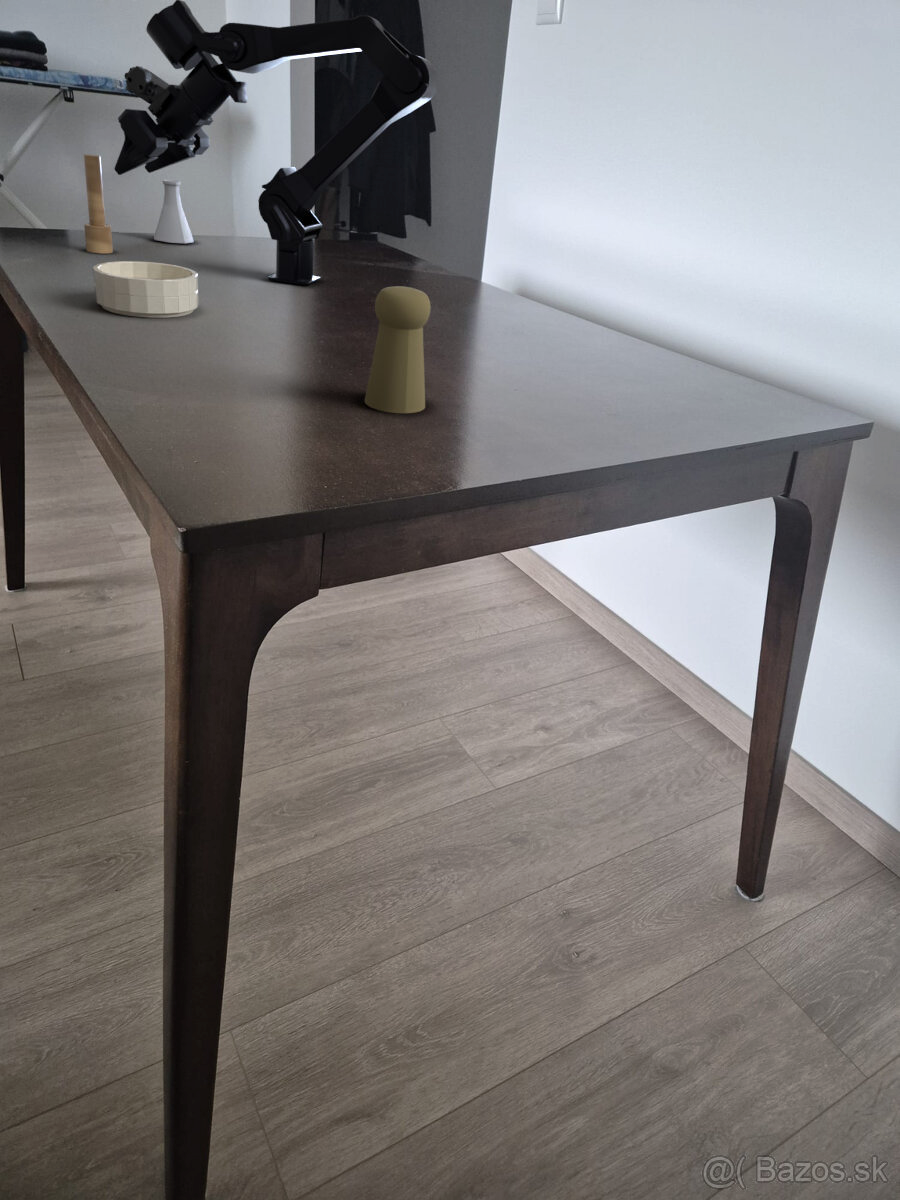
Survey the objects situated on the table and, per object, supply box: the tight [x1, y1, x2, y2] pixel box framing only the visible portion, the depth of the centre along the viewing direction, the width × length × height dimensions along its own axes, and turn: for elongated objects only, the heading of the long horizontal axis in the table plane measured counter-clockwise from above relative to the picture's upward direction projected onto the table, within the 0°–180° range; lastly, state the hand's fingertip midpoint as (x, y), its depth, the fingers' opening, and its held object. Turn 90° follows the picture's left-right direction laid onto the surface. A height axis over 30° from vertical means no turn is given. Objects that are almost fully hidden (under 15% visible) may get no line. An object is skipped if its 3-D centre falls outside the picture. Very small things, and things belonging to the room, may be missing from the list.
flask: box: [153, 179, 195, 244], centre depth 155 cm, size 7×7×10 cm
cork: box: [364, 285, 431, 414], centre depth 83 cm, size 6×6×11 cm
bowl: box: [92, 260, 200, 319], centre depth 109 cm, size 12×12×4 cm
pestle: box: [83, 153, 114, 255], centre depth 137 cm, size 4×4×14 cm
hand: (132, 171), depth 134 cm, fingers open, 9 cm apart
